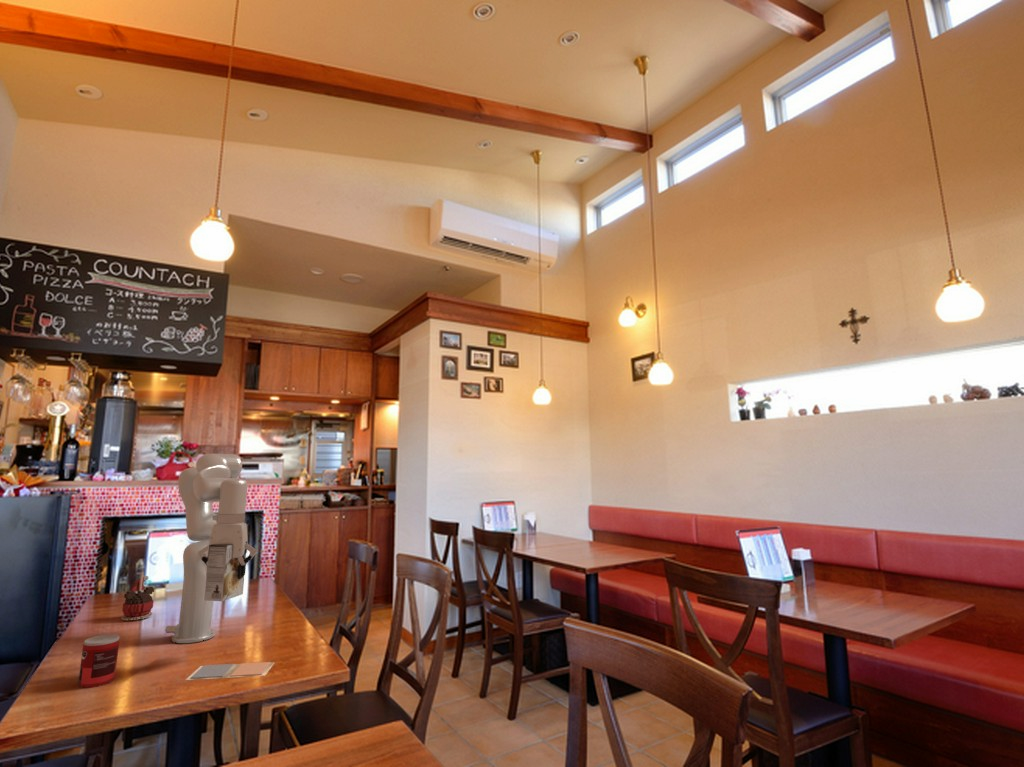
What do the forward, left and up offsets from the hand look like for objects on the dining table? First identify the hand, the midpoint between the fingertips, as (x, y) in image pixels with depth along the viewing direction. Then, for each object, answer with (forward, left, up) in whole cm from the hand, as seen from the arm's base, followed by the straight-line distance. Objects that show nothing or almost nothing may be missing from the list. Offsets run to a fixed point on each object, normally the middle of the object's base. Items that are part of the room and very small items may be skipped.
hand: (225, 578), depth 158 cm
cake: (-47, +53, -24) cm, 75 cm away
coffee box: (0, 0, -6) cm, 6 cm away
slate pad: (+3, -11, -23) cm, 25 cm away
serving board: (+8, -11, -24) cm, 27 cm away
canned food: (-26, -11, -24) cm, 37 cm away
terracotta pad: (+13, -11, -23) cm, 28 cm away
